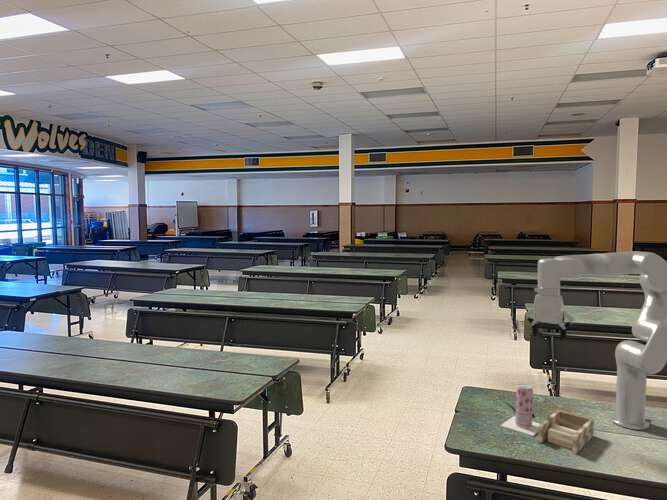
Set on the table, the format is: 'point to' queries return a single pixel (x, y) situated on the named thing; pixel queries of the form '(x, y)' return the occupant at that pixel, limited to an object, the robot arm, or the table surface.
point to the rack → (572, 422)
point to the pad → (512, 426)
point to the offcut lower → (560, 442)
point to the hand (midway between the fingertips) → (549, 337)
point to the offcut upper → (561, 433)
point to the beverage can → (524, 405)
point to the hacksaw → (515, 409)
